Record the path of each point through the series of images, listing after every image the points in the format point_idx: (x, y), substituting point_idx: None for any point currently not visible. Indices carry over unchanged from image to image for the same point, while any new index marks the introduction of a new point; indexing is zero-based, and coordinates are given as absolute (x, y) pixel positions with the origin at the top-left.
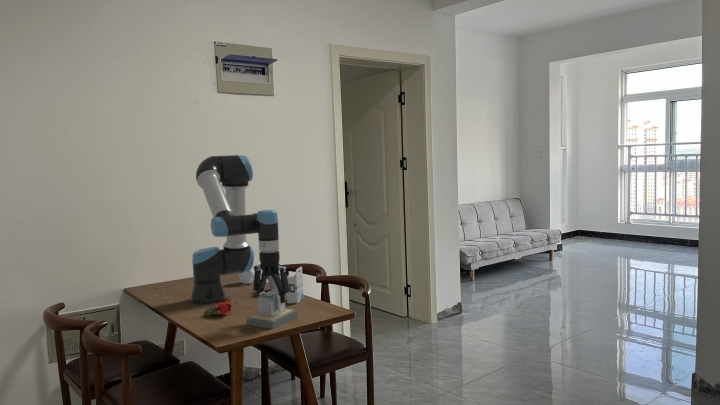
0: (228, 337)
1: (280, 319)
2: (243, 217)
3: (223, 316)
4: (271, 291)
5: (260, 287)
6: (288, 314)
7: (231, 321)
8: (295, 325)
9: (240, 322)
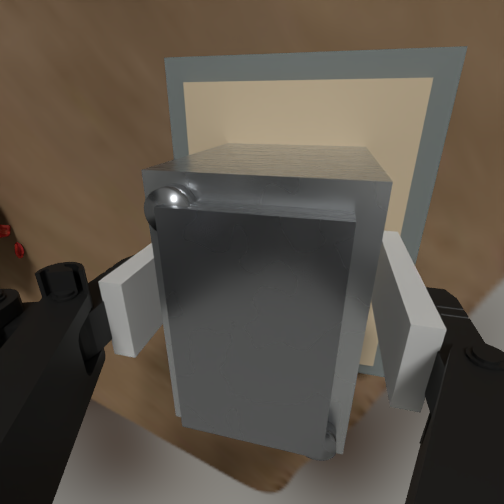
0: None
1: None
2: None
3: (4, 236)
4: (202, 287)
5: (76, 412)
6: (426, 203)
7: (81, 262)
8: (497, 239)
9: None
